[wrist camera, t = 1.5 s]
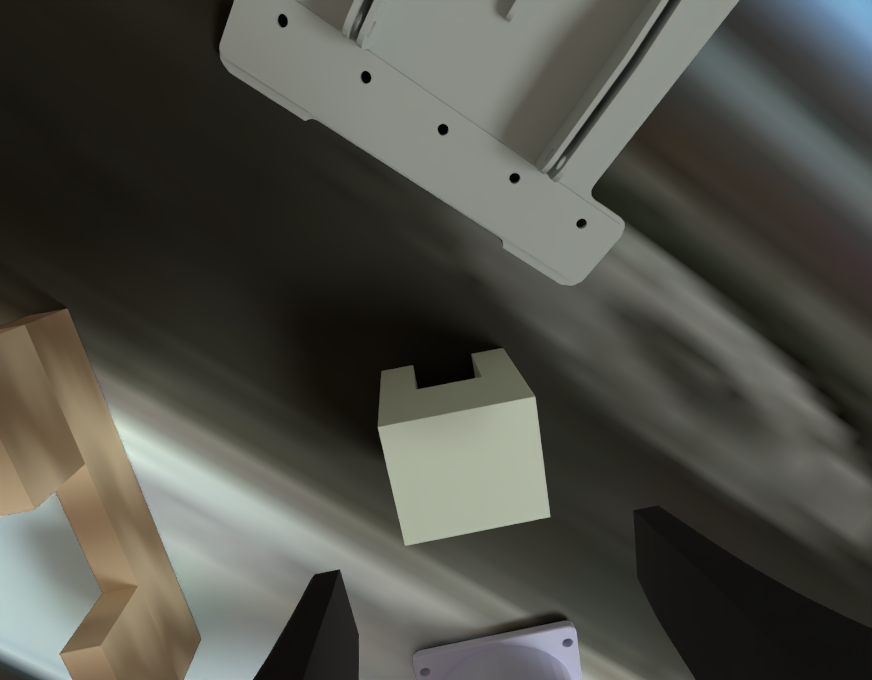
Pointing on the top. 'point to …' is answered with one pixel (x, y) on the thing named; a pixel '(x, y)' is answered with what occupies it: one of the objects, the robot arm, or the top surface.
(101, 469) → the notched rail
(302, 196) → the top surface
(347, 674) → the robot arm
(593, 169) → the metal bracket
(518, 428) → the slotted block
